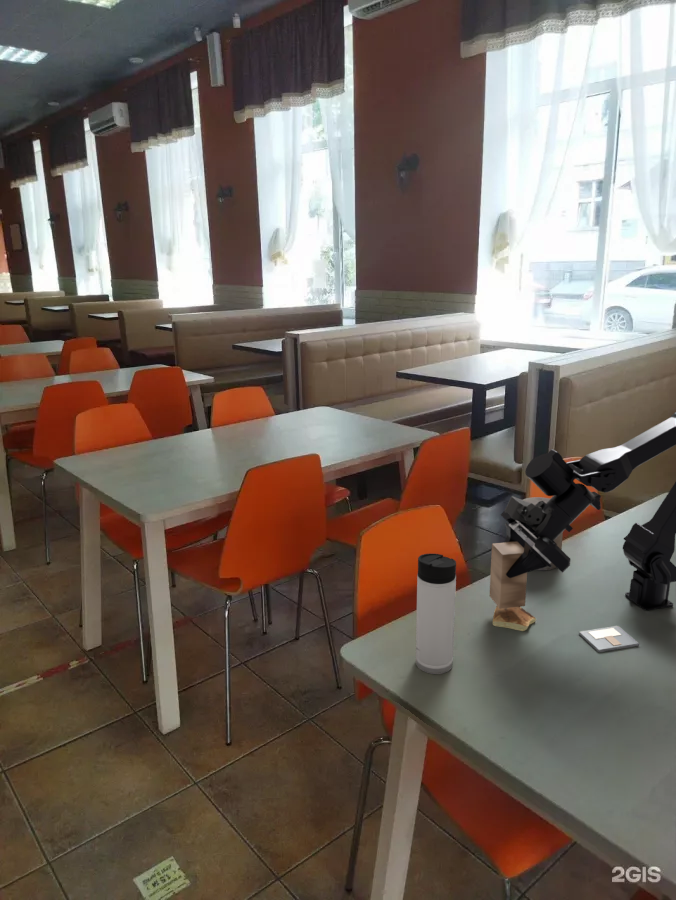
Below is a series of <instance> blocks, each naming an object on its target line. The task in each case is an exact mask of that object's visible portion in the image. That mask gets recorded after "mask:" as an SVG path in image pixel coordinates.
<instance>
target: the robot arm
mask: <svg viewBox="0 0 676 900" xmlns="http://www.w3.org/2000/svg"><path fill="white" fill-rule="evenodd" d="M675 446H676V412H674V413H672V415H671V416H670V417H669V418H667V419H666V420H663V421H662V422H659V423H658V424H657V425H654V426H652V427H651V428H649V429H647V430H645V431H644V432H642V433H640V434H638V435H637V436H635V437H633V438H631V439H629V440H628V441H626V442H624V443H623V444H621V445H617V446H615V447H607V448H602V449H599V450H596V451H592V452H591V453H588V454H585V455H584V456H582V457H581V458H580V459H576V460H573V461H572V460H571V461H567V462H566V461H565V460H564V458H563V457H562V455H561V454H560V453H559V452H558V451H556V450H555V449H550V450H549V451H548V452H547V453H543V454H540V455H538V456H537V457H534V458H532V459H531V460H530V461H529V463H528V464H527V466H526V468H525V476H526V477H527V478H528V479H529V480H530V481H531V482H532V483H533V484H535V486H536V487H537V488H538V489H539V490H540V491H542V493H543V494H544V495H546V496H548V497H550V500H549V501H548V502H547V503H545V502H543V501H539V502H538V503H537V504H536V505H534V504H533V503H529V502H526V501H524V500H523V499H521V498H518V497H517V496H513V495H512V496H511V497H510V498H509V501H508V503H507V505H506V507H505V509H504V510H503V512H502V513H501V514H500V516H501V517H502V518H503V519H504V520H505V521H506V522H505V524H504V526H505V527H506V528H505V529H506V537H505V540H504V542H515V541H517V542H518V543H519V544H520V545H521V546H522V547H523V548H524V552H523V554H522V555H521V556H520V557H519V558H518V559H517V561H516V562H515V563H514V564H513V565H512V566H511V568H510V569H509V570H508V572H507V573H506V575H507V576H508V577H509V578H512V577H515V576H518V575H521V574H524V573H527V574H528V572H533V571H538V570H537V569H541V568H544V567H550V568H551V567H552V566H551V565H550V563H551V562H552V563H553V564H554V565H555V566H556V568H557V569H558V570H559V571H560V572H561V573H562V574H563V573H564V572H565V571H566V570H567V569H568V568H569V567H570V566H571V557H570V556H568V554H566V553H565V551H563V550H561V549H560V548H559V547H558V546H557V544H556V543H555V542H554V540H555V539H556V538H557V537H558V536H559V535H560V534H561V533H562V532H565V530H566V532H568V533H570V532H572V530H573V529H574V527H573V526H572V525H571V524H572V523H573V522H574V521H575V520H576V519H577V518H578V517H579V516H581V514H582V513H583V512H584V511H585V510H587V508H588V507H589V506H591V507H593V508H595V509H596V511H601V509H602V506H601V505H602V504H601V498H602V496H601V494H599V493H598V492H600V493H601V492H602V493H610V492H612V491H614V490H615V489H616V488H618V487H619V486H620V485H622V484H624V482H626V481H627V480H628V479H629V477H630V475H631V474H632V472H633V471H634V470H635V469H636V468H638V467H639V466H641V465H643V464H645V463H647V462H648V461H651V460H652V459H653V458H655V457H657V456H659V455H660V454H662V453H664V452H667V451H668V450H669V449H672V448H673V447H675ZM575 480H577V481H578V482H580V483H578V482H577V483H576V482H575ZM588 487H591V488H593V489H595V490H596V491H598V492H596V491H591V490H590V489H589V488H588ZM527 538H529V539H530V540H531V541H533V542H534V543H535V545H534V546H533V547H531V546H530V545H529V544H528V543H527V542H526V541H525V540H526V539H527ZM623 540H624V543H623V545H622V550H623V554H624V556H625V558H626V559H627V560H628V563H629V565H630V566H632V567H633V568H634V569H636V570H633V573H632V578H631V579H630V585H629V591H628V592H625V594H624V596H625V597H626V598H627V599H629V600H631V601H632V602H633V603H635V605H637V606H639V607H640V608H642V610H644V611H651V610H658V609H659V610H660V609H665V608H671V607H672V608H673V607H674V603H673V602H672V601H671V600H669V595H670V588H671V584H672V583H675V582H676V565H675V564H674V563H673V562H672V561H671V559H672V557H673V555H674V553H675V550H676V549H675V547H676V546H675V545H676V481H675V482H674V484H673V485H672V487H671V488H670V490H669V491H668V492H667V494H666V496H665V498H664V499H663V501H662V502H661V504H660V505H659V507H658V508H657V510H656V512H655V513H654V515H653V516H652V517H651V519H650V520H649V521H647V522H645V523H643V524H639V523H638V522H635V523H634V524H632V526H631V528H630V531H629V532H628V533H627V535H626V536H625V537H623Z"/></svg>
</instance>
